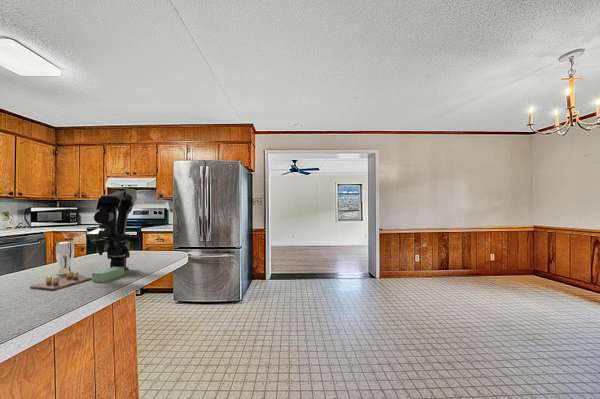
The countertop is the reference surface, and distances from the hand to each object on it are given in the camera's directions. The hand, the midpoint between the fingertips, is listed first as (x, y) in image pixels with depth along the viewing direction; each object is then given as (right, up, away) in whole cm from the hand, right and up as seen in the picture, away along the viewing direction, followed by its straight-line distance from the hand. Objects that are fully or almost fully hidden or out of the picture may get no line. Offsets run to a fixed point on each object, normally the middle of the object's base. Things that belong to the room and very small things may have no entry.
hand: (108, 255), depth 128 cm
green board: (0, -11, 0) cm, 11 cm away
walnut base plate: (-13, -10, -9) cm, 19 cm away
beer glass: (-26, -10, +7) cm, 29 cm away
